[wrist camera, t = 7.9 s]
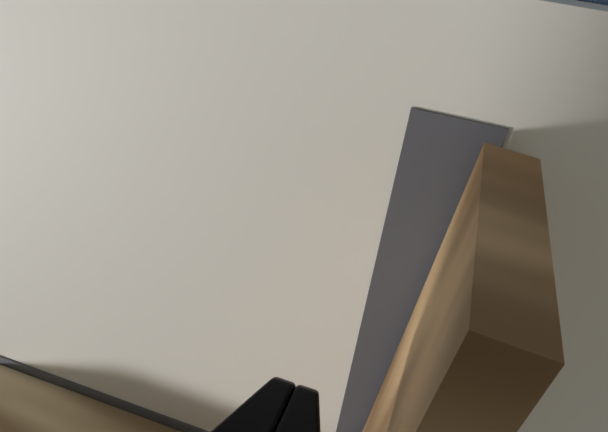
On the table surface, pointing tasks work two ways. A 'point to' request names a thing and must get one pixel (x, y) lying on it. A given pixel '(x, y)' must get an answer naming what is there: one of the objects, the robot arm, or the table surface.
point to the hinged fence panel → (481, 313)
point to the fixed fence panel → (60, 409)
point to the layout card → (281, 190)
